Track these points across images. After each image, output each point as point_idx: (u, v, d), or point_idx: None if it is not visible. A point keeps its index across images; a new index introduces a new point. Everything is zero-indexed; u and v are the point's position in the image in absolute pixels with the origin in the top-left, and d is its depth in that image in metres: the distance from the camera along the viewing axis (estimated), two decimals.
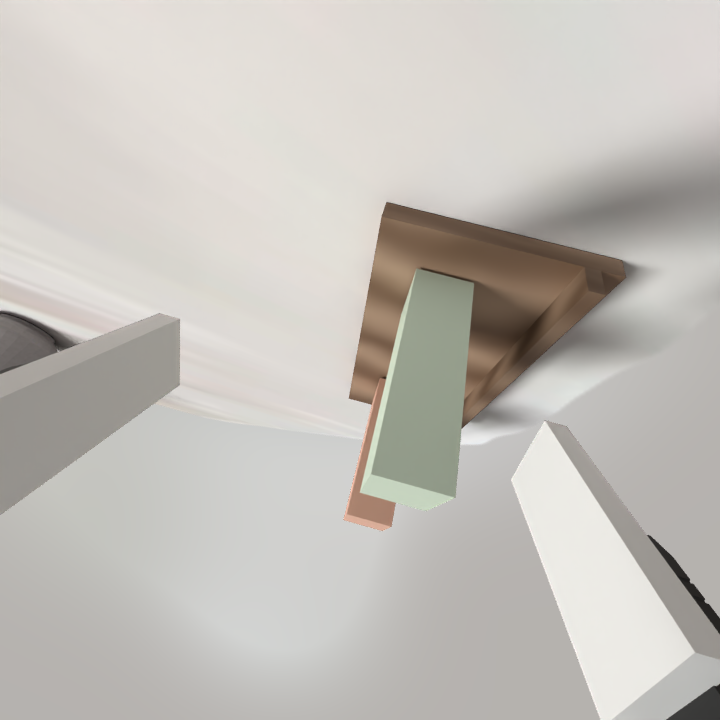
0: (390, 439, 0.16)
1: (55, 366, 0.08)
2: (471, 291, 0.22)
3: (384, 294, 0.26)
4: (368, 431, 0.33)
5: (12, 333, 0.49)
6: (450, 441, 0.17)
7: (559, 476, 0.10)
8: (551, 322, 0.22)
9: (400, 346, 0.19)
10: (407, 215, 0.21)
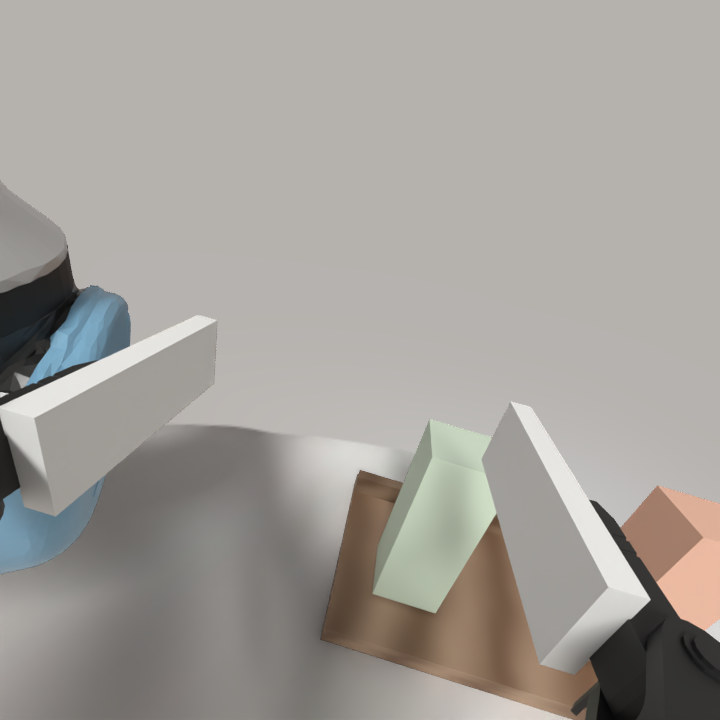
0: (422, 473, 0.21)
1: (119, 365, 0.08)
2: (379, 541, 0.29)
3: (416, 635, 0.24)
4: None
5: None
6: (418, 451, 0.24)
7: (519, 450, 0.10)
8: (391, 490, 0.34)
9: (396, 537, 0.23)
10: (327, 610, 0.25)
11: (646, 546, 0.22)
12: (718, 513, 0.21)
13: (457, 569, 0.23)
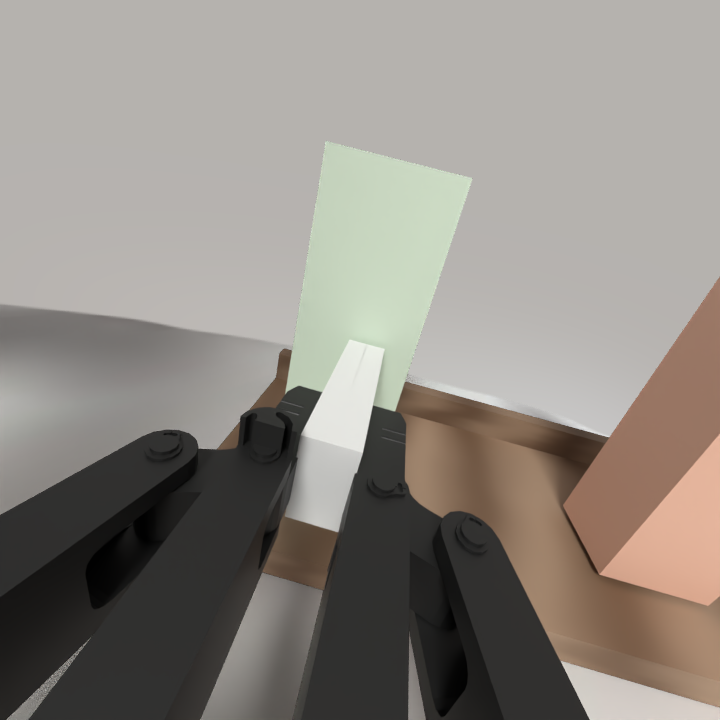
0: None
1: (340, 392, 0.10)
2: None
3: (328, 535, 0.14)
4: (683, 471, 0.13)
5: None
6: None
7: None
8: None
9: None
10: None
11: None
12: None
13: (393, 395, 0.15)
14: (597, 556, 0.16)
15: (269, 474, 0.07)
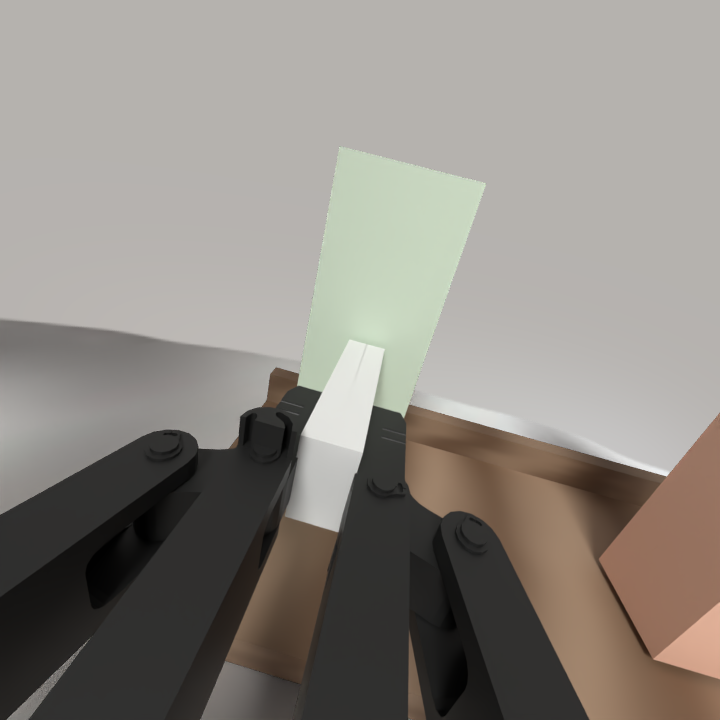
0: None
1: (340, 392, 0.10)
2: None
3: None
4: None
5: None
6: None
7: None
8: None
9: (304, 345, 0.14)
10: None
11: None
12: None
13: (403, 399, 0.15)
14: (649, 634, 0.13)
15: (269, 474, 0.07)
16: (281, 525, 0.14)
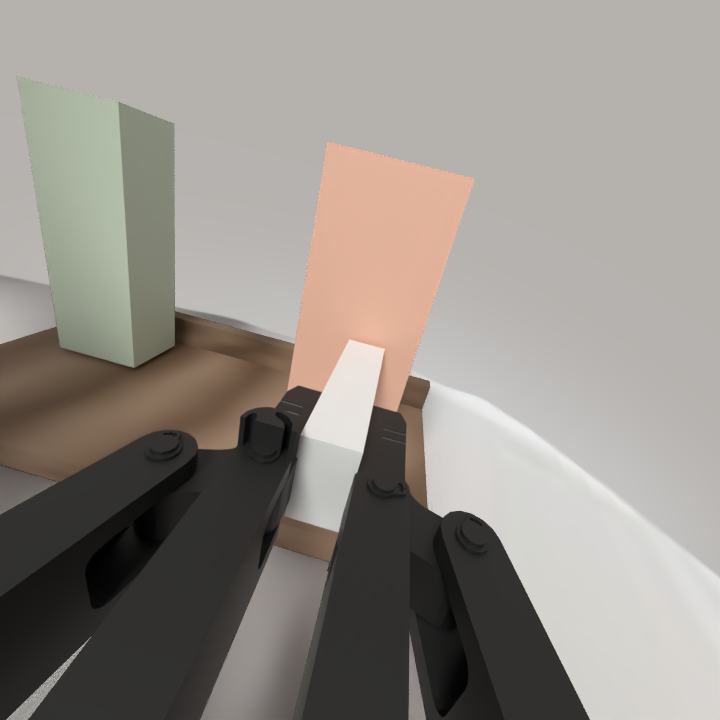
0: None
1: (340, 392, 0.10)
2: None
3: (10, 418, 0.16)
4: (294, 349, 0.14)
5: None
6: None
7: None
8: None
9: (44, 240, 0.19)
10: None
11: None
12: None
13: (124, 283, 0.19)
14: None
15: (269, 474, 0.07)
16: (25, 378, 0.18)
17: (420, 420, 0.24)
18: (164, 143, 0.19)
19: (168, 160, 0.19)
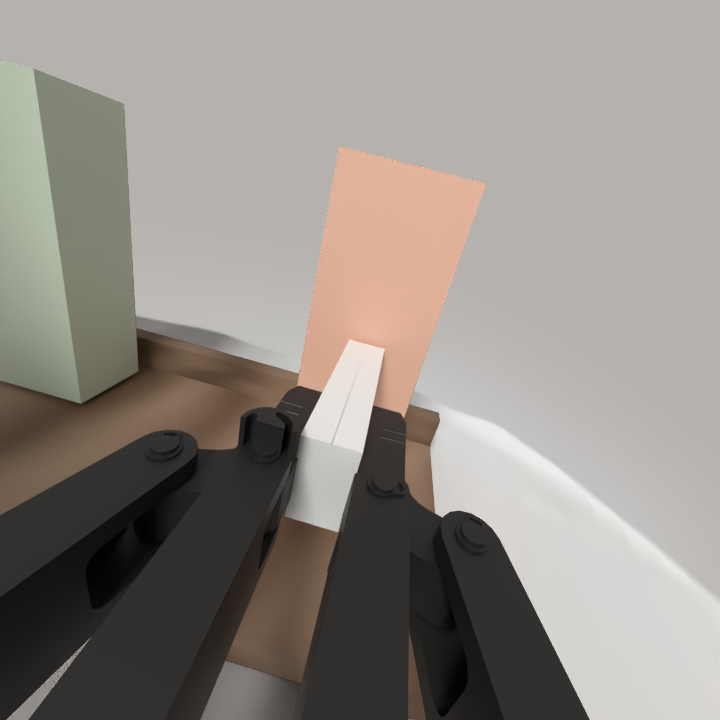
0: None
1: (340, 392, 0.10)
2: None
3: None
4: None
5: None
6: None
7: None
8: None
9: None
10: None
11: None
12: None
13: (61, 303, 0.15)
14: None
15: (269, 474, 0.07)
16: None
17: (428, 462, 0.20)
18: (110, 128, 0.15)
19: (117, 149, 0.15)
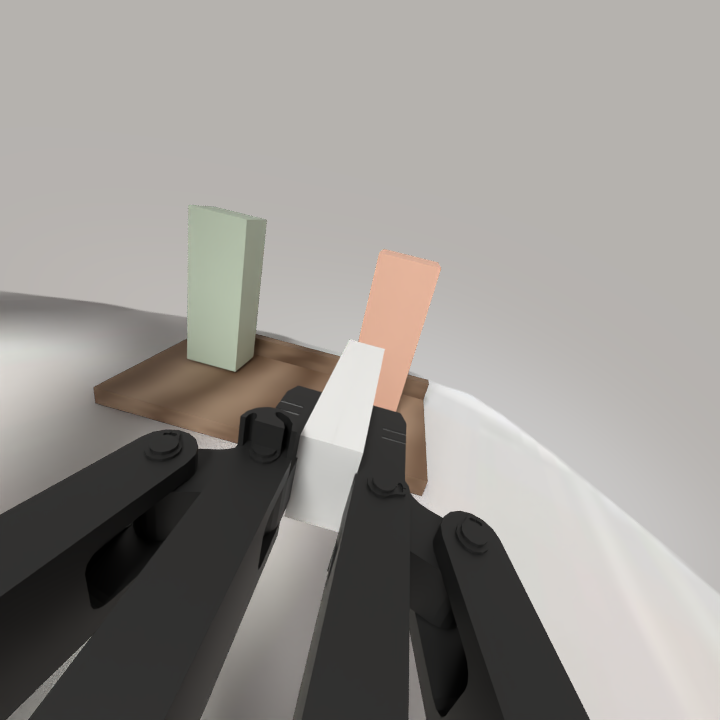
0: None
1: (340, 392, 0.10)
2: None
3: (182, 401, 0.27)
4: (358, 341, 0.30)
5: None
6: None
7: None
8: None
9: (188, 293, 0.30)
10: None
11: None
12: (418, 258, 0.29)
13: (236, 318, 0.30)
14: None
15: (269, 474, 0.07)
16: (176, 378, 0.30)
17: (422, 406, 0.35)
18: (261, 232, 0.30)
19: (262, 241, 0.31)
